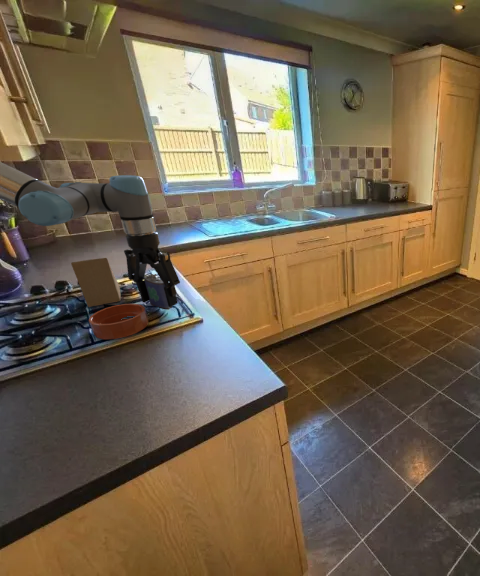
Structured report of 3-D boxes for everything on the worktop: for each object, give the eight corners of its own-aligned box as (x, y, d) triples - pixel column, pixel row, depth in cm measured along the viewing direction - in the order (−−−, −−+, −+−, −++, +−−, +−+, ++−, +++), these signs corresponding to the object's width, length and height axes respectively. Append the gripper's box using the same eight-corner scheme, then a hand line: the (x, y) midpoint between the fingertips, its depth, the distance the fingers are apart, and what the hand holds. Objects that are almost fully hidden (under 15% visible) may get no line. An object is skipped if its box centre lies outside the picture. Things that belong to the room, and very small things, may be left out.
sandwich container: (120, 284, 118) (107, 244, 112) (121, 300, 107) (107, 257, 101) (89, 290, 113) (74, 248, 107) (87, 307, 102) (70, 262, 96)
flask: (174, 307, 102) (166, 275, 98) (164, 311, 100) (156, 278, 96) (156, 300, 106) (148, 269, 102) (147, 304, 104) (137, 272, 99)
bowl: (83, 337, 88) (76, 320, 86) (125, 315, 99) (120, 301, 97) (119, 344, 85) (114, 328, 83) (159, 322, 96) (155, 307, 94)
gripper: (183, 233, 95) (198, 302, 104) (122, 226, 99) (142, 293, 108) (162, 239, 88) (180, 313, 97) (97, 232, 92) (120, 303, 102)
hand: (160, 302), depth 103 cm, fingers closed on flask, 9 cm apart
